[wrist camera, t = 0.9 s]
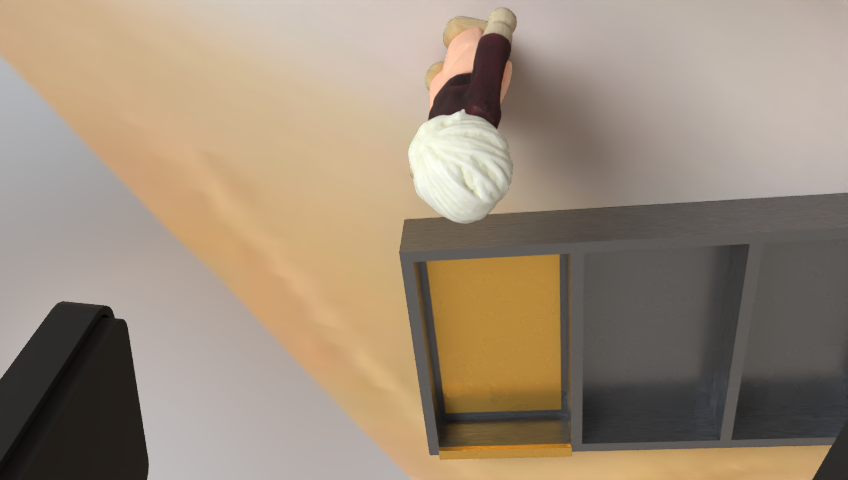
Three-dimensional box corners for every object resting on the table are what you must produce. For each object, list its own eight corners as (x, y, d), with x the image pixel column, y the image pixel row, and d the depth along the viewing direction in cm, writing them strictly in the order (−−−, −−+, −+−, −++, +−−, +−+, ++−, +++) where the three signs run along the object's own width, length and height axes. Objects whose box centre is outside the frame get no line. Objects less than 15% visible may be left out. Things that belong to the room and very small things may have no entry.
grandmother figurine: (487, 140, 36) (491, 303, 25) (408, 120, 35) (378, 278, 25) (537, -22, 31) (567, 92, 21) (448, -45, 31) (433, 58, 20)
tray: (922, 188, 35) (960, 225, 33) (860, 404, 43) (886, 448, 40) (404, 219, 38) (398, 255, 35) (432, 417, 46) (429, 459, 43)
